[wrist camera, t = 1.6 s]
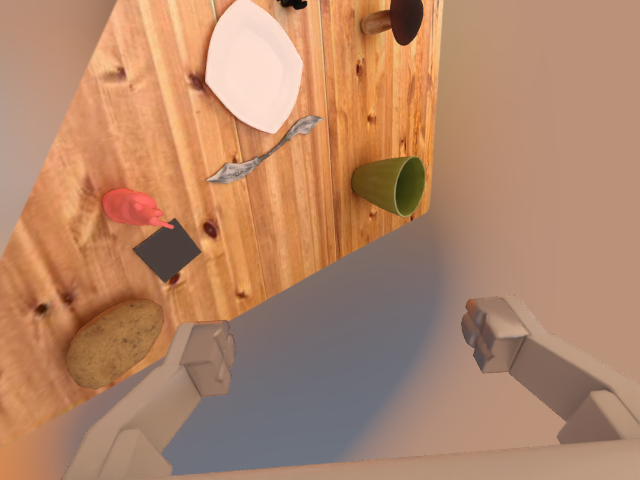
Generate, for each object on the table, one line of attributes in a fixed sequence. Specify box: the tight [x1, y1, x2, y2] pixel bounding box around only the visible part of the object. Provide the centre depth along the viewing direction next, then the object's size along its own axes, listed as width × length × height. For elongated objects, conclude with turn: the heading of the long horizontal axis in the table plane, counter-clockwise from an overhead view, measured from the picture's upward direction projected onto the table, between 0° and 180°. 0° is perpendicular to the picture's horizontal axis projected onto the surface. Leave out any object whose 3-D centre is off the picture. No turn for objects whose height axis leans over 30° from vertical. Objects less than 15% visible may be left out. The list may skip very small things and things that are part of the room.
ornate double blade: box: [207, 116, 323, 183], centre depth 64 cm, size 32×1×5 cm
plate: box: [205, 0, 303, 134], centre depth 57 cm, size 19×19×2 cm
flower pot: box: [352, 156, 425, 217], centre depth 83 cm, size 15×15×16 cm
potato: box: [66, 299, 164, 390], centre depth 47 cm, size 10×14×8 cm
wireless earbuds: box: [277, 0, 307, 10], centre depth 57 cm, size 7×2×5 cm, turn 109°
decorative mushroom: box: [361, 0, 423, 46], centre depth 70 cm, size 11×11×15 cm
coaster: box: [133, 218, 201, 283], centre depth 53 cm, size 8×8×1 cm
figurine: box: [102, 188, 174, 229], centre depth 42 cm, size 5×5×15 cm
